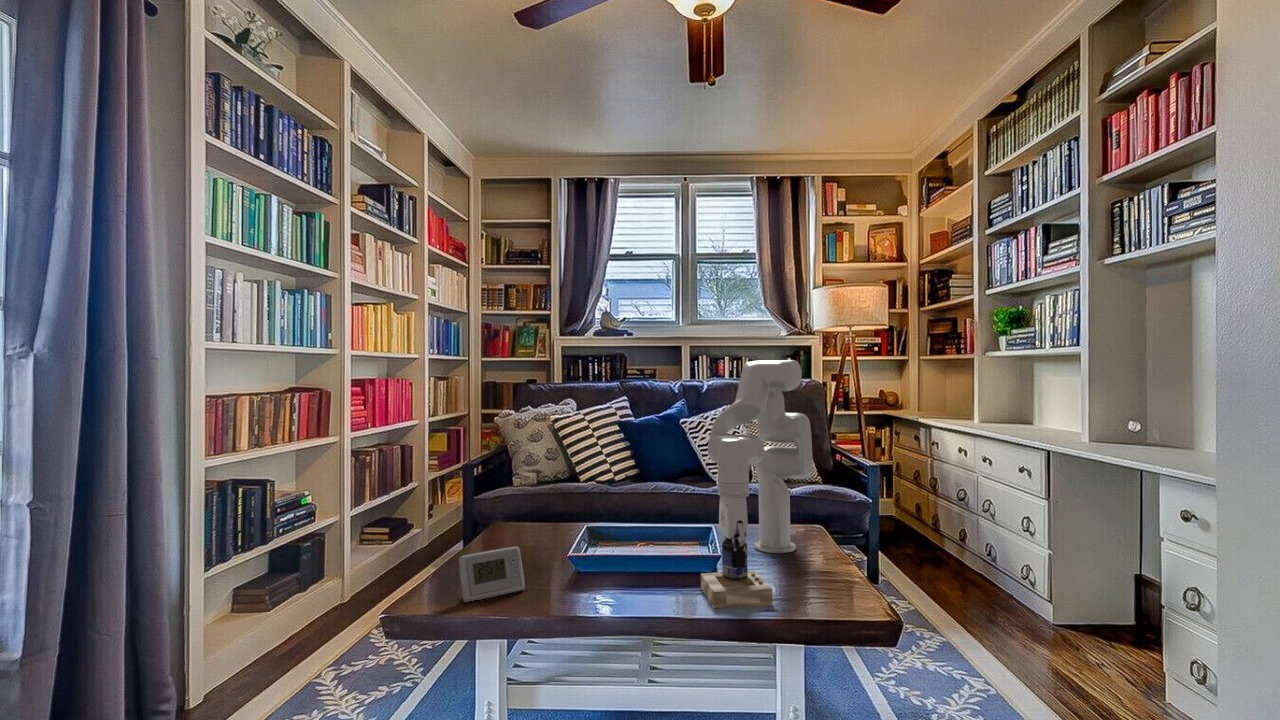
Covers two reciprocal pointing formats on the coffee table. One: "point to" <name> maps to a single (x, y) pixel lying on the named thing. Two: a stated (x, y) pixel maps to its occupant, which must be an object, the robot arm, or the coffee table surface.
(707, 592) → the socket block
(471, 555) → the digital clock
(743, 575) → the pill bottle
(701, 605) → the coffee table surface
